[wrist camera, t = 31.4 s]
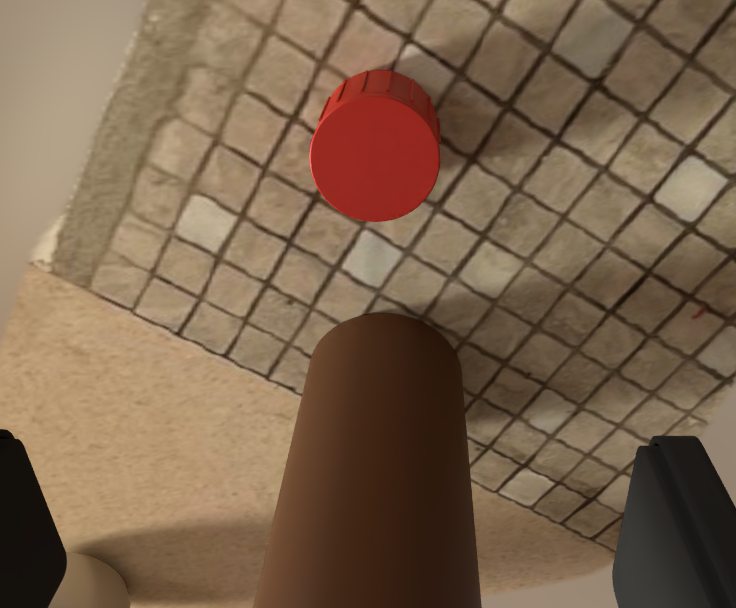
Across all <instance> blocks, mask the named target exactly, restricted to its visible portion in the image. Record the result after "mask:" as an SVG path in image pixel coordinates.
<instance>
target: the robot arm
mask: <svg viewBox="0 0 736 608" xmlns="http://www.w3.org/2000/svg"><path fill="white" fill-rule="evenodd" d="M66 568H67V555H66V552H65V549H64V547H63V544H62V542H61V539H60V536H59V534H58V531H57V529H56V526H55V524H54V521H53V519H52V516H51V514H50V511H49V508H48V506H47V503H46V501H45V498H44V496H43V493H42V491H41V488H40V486H39V483H38V481H37V478H36V475H35V473H34V470H33V468H32V465H31V463H30V460H29V458H28V455H27V453H26V450H25V447H24V445H23V443H22V442H21V441H20V440H19V439H15V438H14V436H13V435H12V433H11V432H9V431H8V430H4V429H0V608H48V607H49V605H50V603H51V601H52V599H53V597H54V595H55V593H56V592H57V590H58V588H59V586H60V584H61V582H62V580H63V578H64V576H65V572H66ZM612 577H613V586H614V592H615V596H616V600H617V603H618V607H619V608H736V508H735V506H734V504H733V502H732V500H731V498H730V497H729V494H728V492H727V490H726V489H725V487H724V485H723V483H722V481H721V479H720V477H719V475H718V473H717V471H716V470H715V468H714V466H713V464H712V462H711V460H710V458H709V456H708V454H707V453H706V451H705V449H704V447H703V445H702V443H701V442H700V440H699V439H698V438H697V437H695V436H653V437H652V439H651V440H650V444H649V446H639V448H638V449H637V452H636V457H635V462H634V467H633V472H632V477H631V482H630V486H629V491H628V496H627V501H626V506H625V511H624V516H623V521H622V525H621V530H620V535H619V540H618V545H617V550H616V555H615V560H614V564H613V576H612Z"/></svg>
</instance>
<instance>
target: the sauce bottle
mask: <svg viewBox="0 0 736 608" xmlns="http://www.w3.org/2000/svg"><path fill="white" fill-rule="evenodd" d="M253 608H482V607H481V595H480V583H479V572H478V560H477V548H476V536H475V525H474V513H473V501H472V489H471V478H470V466H469V454H468V442H467V431H466V419H465V407H464V395H463V383H462V372H461V366H460V362H459V360H458V357H457V355H456V353H455V351H454V349H453V348H452V346H451V345H450V344H449V342H448V341H447V340H446V339H445V338H444V337H443V336H442V335H441V334H440V333H439V332H437V331H436V330H435V329H433V328H432V327H430V326H428V325H427V324H425V323H423V322H421V321H418V320H416V319H413V318H410V317H406V316H402V315H396V314H385V313H381V314H369V315H363V316H359V317H356V318H352V319H350V320H348V321H345V322H343V323H341V324H340V325H338V326H336V327H335V328H333V329H332V330H331V331H329V332H328V333H327V334H326V335H325V336H324V337H323V338H322V339H321V341H320V342H319V343H318V345H317V346H316V348H315V350H314V352H313V354H312V357H311V360H310V364H309V368H308V373H307V377H306V381H305V386H304V390H303V394H302V399H301V403H300V407H299V411H298V416H297V420H296V424H295V429H294V433H293V437H292V442H291V446H290V450H289V454H288V459H287V463H286V467H285V472H284V476H283V480H282V485H281V489H280V493H279V498H278V502H277V506H276V510H275V515H274V519H273V523H272V528H271V532H270V536H269V541H268V545H267V549H266V553H265V558H264V562H263V566H262V571H261V575H260V579H259V584H258V588H257V592H256V596H255V601H254V605H253Z"/></svg>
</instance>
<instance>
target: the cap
mask: <svg viewBox="0 0 736 608" xmlns="http://www.w3.org/2000/svg"><path fill="white" fill-rule="evenodd" d="M319 121H320V122H319V124H318V126H317V129H316V131H315V133H314V136H313V138H312V140H311V147H310V168H311V173H312V176H313V179H314V182H315V184H316V186H317V188H318V189H319V191H320V193H321V194H322V195H323V197H324V198H325V199H326V200H327V201H328V202H329V203H330V204H331V205H332V206H333V207H335V208H336V209H337V210H339V211H340V212H342V213H344V214H346V215H348V216H350V217H353V218H356V219H359V220H364V221H372V222H379V221H388V220H393V219H396V218H399V217H402V216H404V215H406V214H408V213H409V212H411V211H413V210H414V209H415V208H417V207H418V206H419V205H420V204H421V203H422V202H423V201H424V200H425V199H426V198H427V197H428V195H429V194H430V192H431V191H432V189H433V187H434V185H435V183H436V180H437V177H438V173H439V169H440V150H439V144H441V138H440V126H439V118H437V116H436V112H435V109H434V106H433V104H432V102H431V97H430V96H429V97H428V95H427V94H426V93H425V91H424V90H423V89H422V88H421V87H420V86H419V85H418V84H417V83H416V82H415V80H413V79H412V80H411V79H410V78H408V77H406V76H404V75H402V74H399V73H396V72H392V70H390V71H386V70H373V71H368V70H366V71H365V72H363V73H360V74H357V75H355V76H353V77H351V78H349V79H348V80H347V81H346V79H345V80H344V81H343V84H341V85H340V86H339V87H338V88H337V89H336V91H335V92H334V93H333V94H332V96H331V97H329V98H328V99H327V102H326V104H325V106H324V109H323V111H322V113H321V115H320V118H319Z"/></svg>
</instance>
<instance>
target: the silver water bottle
mask: <svg viewBox="0 0 736 608" xmlns="http://www.w3.org/2000/svg"><path fill="white" fill-rule="evenodd" d="M66 555H67V568H66V572H65V576H64V578H63V580H62V582H61V584H60V586H59V588H58V590H57V592H56V593H55V595H54V597H53V599H52V601H51V603H50V605H49V607H48V608H130V600H129V595H128V592H127V588H126V585H125V583H124V581H123V579H122V578H121V576H120V575H119V574H118V573H117V572H116V571H115V570H114V569H113V568H111V567H110V566H108V565H107V564H105V563H104V562H101V561H99V560H97V559H95V558H92V557H89V556H86V555H81V554H76V553H66Z"/></svg>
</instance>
